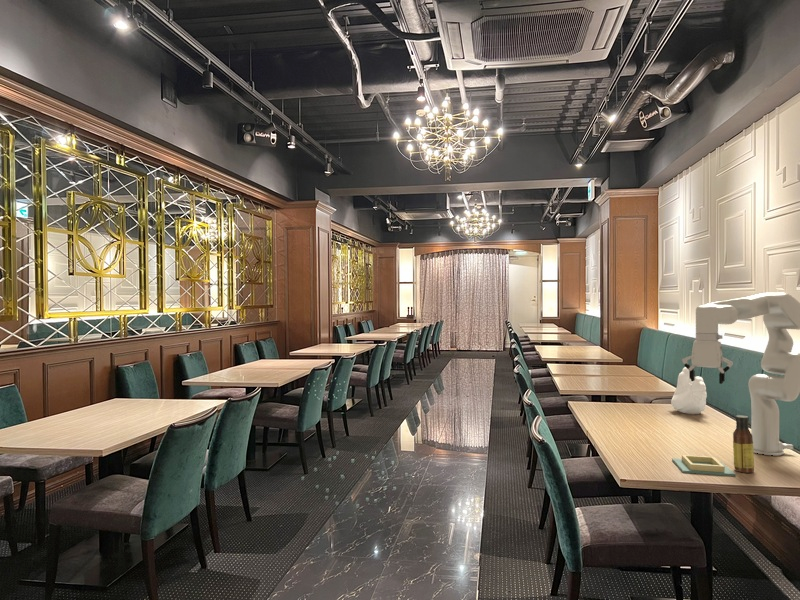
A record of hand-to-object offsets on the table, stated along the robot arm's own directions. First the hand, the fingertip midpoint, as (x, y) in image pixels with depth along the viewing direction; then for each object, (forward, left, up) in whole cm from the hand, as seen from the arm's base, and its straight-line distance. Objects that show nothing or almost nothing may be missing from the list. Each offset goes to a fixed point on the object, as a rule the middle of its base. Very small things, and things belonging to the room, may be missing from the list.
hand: (706, 382), depth 210 cm
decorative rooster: (-18, -91, -31) cm, 98 cm away
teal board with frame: (+4, +10, -30) cm, 32 cm away
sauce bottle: (-9, +10, -31) cm, 34 cm away
